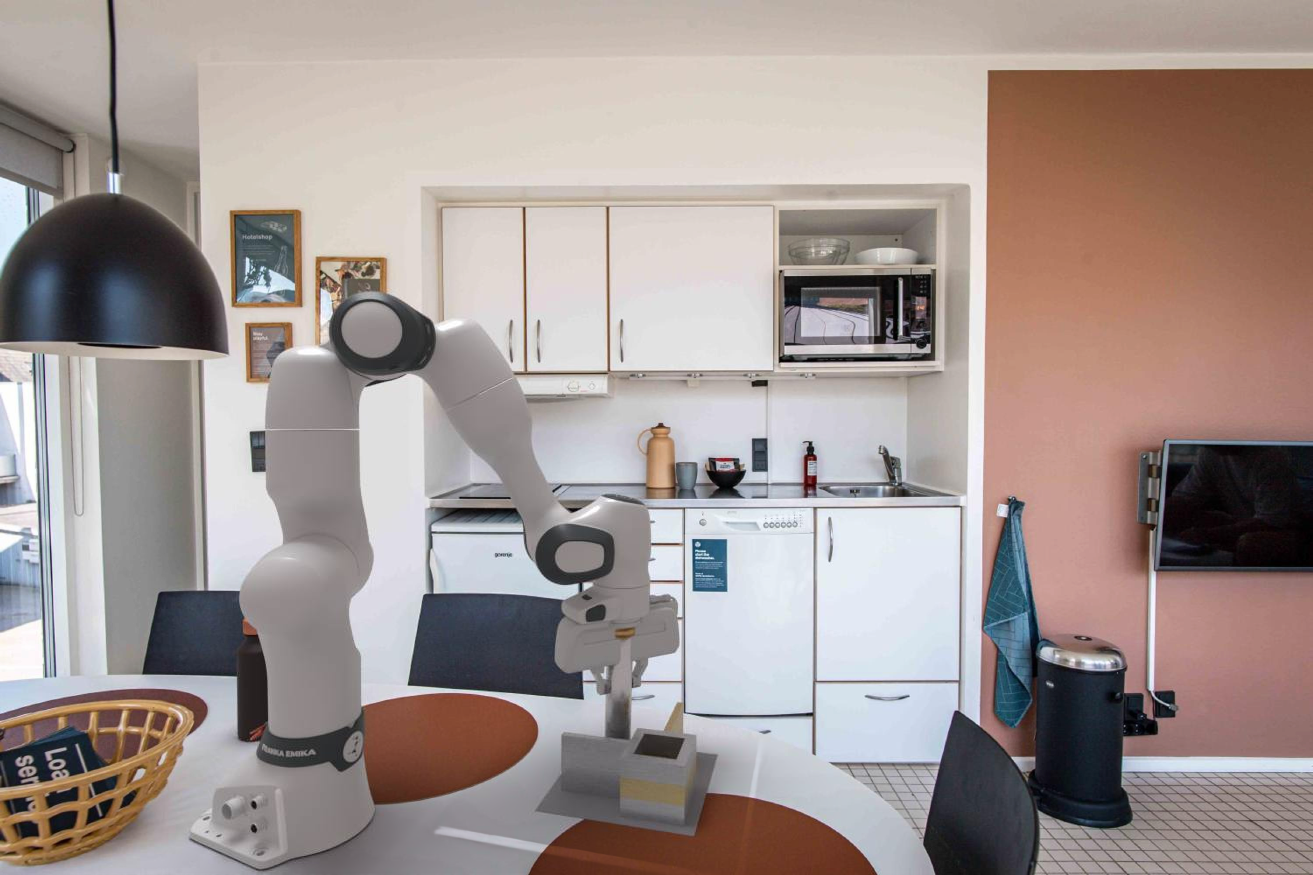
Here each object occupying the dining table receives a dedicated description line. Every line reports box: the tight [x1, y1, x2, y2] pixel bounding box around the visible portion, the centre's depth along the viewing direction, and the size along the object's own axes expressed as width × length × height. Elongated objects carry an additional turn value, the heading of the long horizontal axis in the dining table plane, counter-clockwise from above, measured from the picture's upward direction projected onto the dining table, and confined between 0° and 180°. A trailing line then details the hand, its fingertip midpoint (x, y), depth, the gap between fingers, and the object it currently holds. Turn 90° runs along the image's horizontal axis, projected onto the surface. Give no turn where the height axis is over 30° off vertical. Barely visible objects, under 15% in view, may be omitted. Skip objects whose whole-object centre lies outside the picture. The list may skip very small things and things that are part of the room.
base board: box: [534, 751, 718, 837], centre depth 96 cm, size 22×21×1 cm
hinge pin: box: [604, 627, 635, 740], centre depth 100 cm, size 5×5×19 cm
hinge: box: [560, 701, 697, 826], centre depth 96 cm, size 19×19×8 cm
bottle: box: [236, 618, 268, 742], centre depth 112 cm, size 7×7×20 cm
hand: (618, 689), depth 100 cm, fingers closed on hinge pin, 4 cm apart
